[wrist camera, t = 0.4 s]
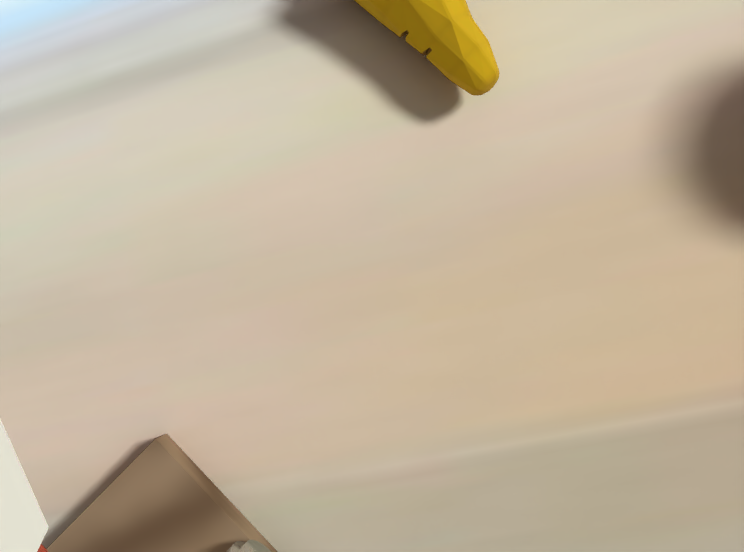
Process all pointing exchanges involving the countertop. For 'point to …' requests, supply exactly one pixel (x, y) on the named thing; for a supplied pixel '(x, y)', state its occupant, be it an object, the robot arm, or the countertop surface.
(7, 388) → the countertop surface
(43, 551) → the valve lever
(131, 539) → the mounting board
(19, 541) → the robot arm
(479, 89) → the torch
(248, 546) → the valve pipe
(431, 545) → the countertop surface
